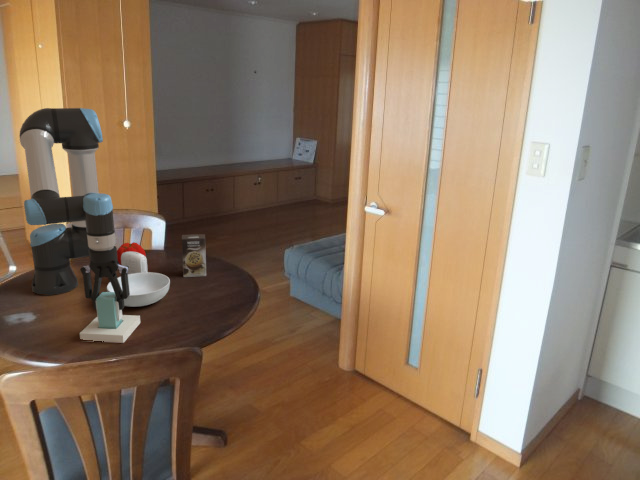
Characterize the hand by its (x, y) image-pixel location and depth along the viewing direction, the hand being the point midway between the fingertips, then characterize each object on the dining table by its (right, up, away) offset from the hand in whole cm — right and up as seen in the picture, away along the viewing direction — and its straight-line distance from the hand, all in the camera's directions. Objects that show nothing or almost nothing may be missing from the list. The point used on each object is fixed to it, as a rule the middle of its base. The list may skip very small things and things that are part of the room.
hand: (110, 318), depth 151 cm
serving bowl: (+1, +2, +23) cm, 23 cm away
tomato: (-15, +13, +56) cm, 60 cm away
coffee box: (+14, +10, +49) cm, 52 cm away
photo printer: (-7, +8, +39) cm, 40 cm away
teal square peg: (0, -4, +1) cm, 4 cm away
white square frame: (0, -4, +1) cm, 4 cm away
